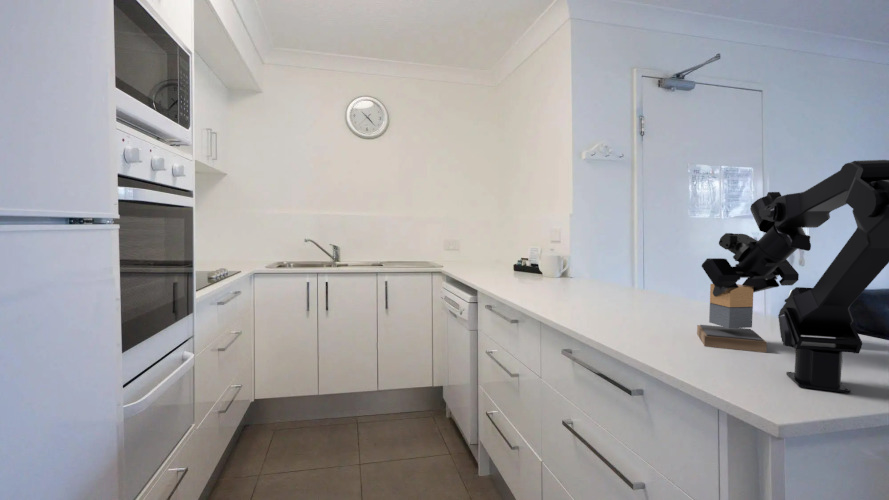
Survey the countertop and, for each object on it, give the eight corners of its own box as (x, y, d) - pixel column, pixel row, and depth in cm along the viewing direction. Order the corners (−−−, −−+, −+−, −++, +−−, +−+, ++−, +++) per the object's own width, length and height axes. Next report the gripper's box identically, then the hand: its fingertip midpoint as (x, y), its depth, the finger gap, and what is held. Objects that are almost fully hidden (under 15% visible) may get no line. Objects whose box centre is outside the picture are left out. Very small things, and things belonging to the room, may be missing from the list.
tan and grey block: (751, 327, 90) (753, 286, 89) (729, 328, 89) (730, 287, 89) (730, 321, 95) (732, 283, 95) (709, 322, 95) (710, 283, 94)
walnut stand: (766, 352, 85) (766, 340, 85) (704, 346, 90) (705, 334, 90) (752, 339, 95) (752, 328, 95) (697, 334, 100) (697, 323, 100)
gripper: (788, 220, 88) (742, 267, 100) (709, 220, 86) (672, 267, 97) (824, 260, 81) (770, 305, 92) (740, 260, 78) (695, 306, 90)
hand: (726, 294), depth 93 cm, fingers closed on tan and grey block, 6 cm apart
